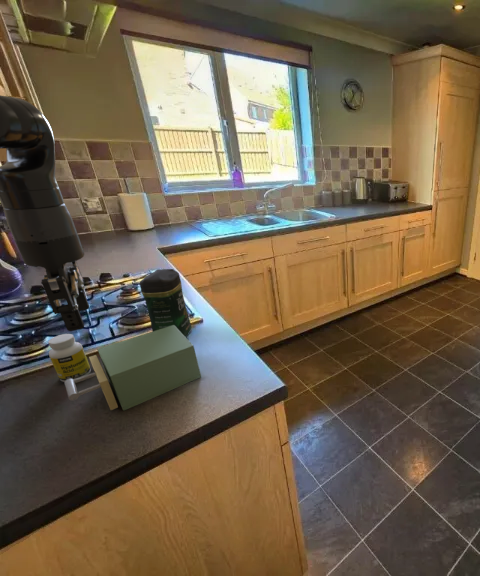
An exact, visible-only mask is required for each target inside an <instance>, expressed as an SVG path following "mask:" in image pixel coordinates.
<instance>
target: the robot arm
mask: <svg viewBox="0 0 480 576" xmlns="http://www.w3.org/2000/svg"><path fill="white" fill-rule="evenodd" d="M0 149H1V150H3V149H5V151H6V153H5V154H6V162H5V163H4V164H3V165H0V204H1V206H2V208H3V212H4V216H5V221H6V223H7V226H8V229H9V231H10V233H11V235H12V238H13V241H14V242H15V244H16V247H17V249H18V251H19V254H20V256H21V259H22V261H23V263H24V265H26V266H29V267H34V268H38V267H39V268H40V267H41V268H44V269H45V273H46V274H44V275H43V278H42V279H41V282H40V283H41V286H42V287H43V289H44V292H45V294H46V297H47V299H48V302H49V304H50V307H51V309H52V313H53V314H54V315H59V314H60V316H61V318H62V321H63V323H64V326H65V328H66V330H67V331H68V332H74V331H79V330H82V329H84V327H85V322H84V320H83V318H82V315H81V313H80V312H83V311H87V310H89V308H90V305H89V301H88V299H87V295H86V293H85V279H84V277H83V274H82V272H81V270H80V267H79V265H78V262H77V261H79V260H81V259H83V258H84V256H85V252H84V249H83V245H82V243H81V240H80V237H79V234H78V232H77V231H78V230H77V228H76V226H75V222H74V219H73V217H72V215H71V213H70V211H69V210H68V207H67V206H66V204H65V200H64V198H63V195H62V191H61V189H60V187H59V184H58V181H57V179H56V151H55V150H56V149H55V138H54V133H53V130H52V127H51V125H50V123H49V121H48V119H47V118H46V117H45V115H44V114H43V113H42V111H41V110H40V109H39V108H37V106H35V105H33V104H32V103H31V102H29V101H27V100H25V99H22V98H20V97H15V96H8V95H0ZM62 300H66V301H65V302H66V304H62Z"/></svg>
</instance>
